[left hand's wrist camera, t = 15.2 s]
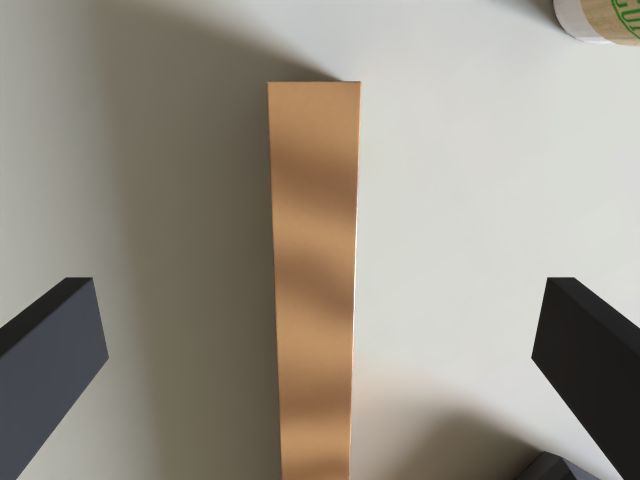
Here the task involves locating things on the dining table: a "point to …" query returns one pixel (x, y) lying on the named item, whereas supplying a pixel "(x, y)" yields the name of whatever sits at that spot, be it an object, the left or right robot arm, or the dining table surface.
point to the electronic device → (554, 469)
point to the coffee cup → (601, 20)
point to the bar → (314, 269)
